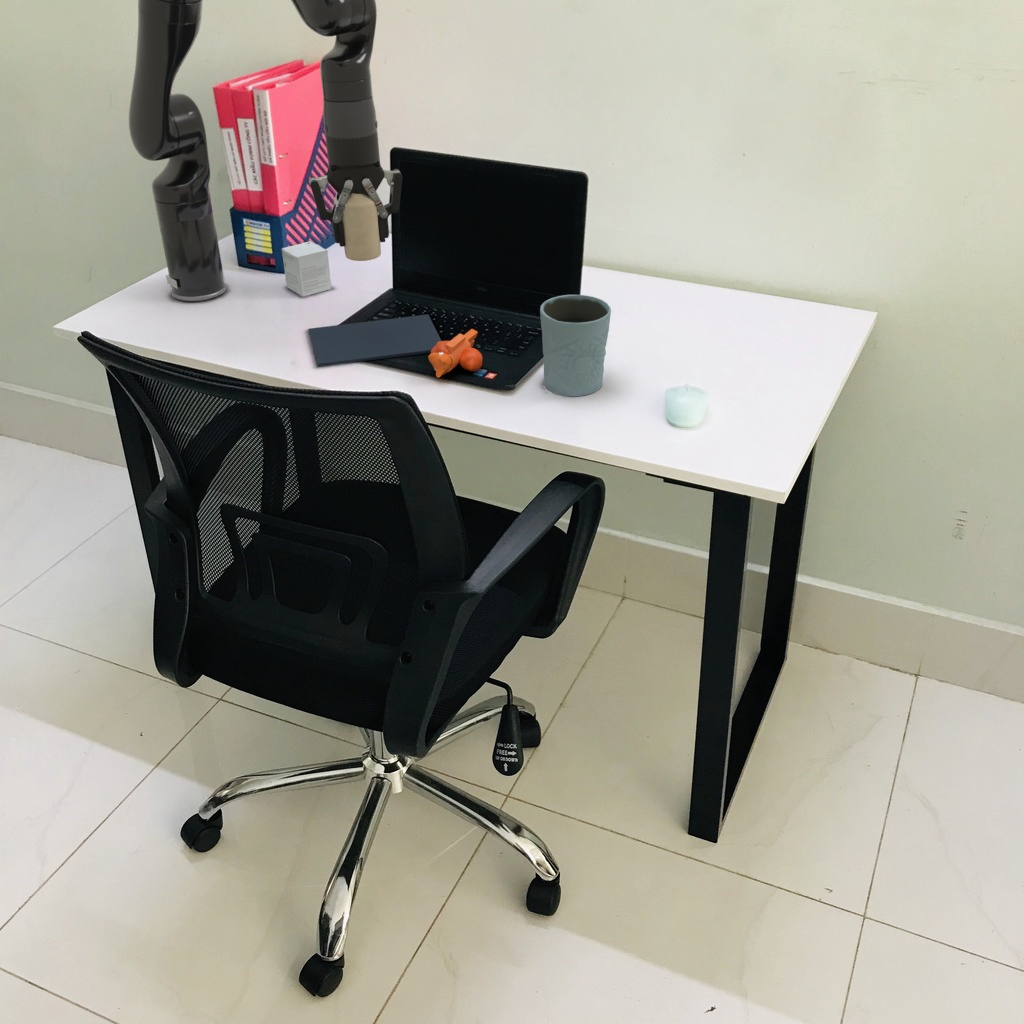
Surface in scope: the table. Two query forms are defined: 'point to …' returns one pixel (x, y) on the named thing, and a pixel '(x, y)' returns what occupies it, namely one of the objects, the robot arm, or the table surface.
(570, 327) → the grey green cup
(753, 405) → the table surface
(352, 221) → the candle
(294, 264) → the product box
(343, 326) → the desk mat
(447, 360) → the orange toy bird
